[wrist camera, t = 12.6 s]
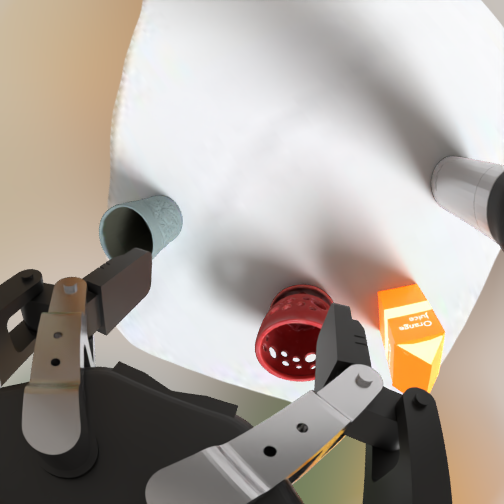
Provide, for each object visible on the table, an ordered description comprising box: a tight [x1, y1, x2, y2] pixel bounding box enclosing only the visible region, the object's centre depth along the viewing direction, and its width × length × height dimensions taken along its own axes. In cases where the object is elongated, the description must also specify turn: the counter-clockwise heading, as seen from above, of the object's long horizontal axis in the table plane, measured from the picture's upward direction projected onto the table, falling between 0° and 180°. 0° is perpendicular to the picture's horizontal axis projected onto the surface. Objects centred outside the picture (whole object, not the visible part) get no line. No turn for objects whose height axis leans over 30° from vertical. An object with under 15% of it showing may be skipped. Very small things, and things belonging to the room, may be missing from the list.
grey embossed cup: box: [99, 196, 183, 260], centre depth 44 cm, size 10×10×12 cm
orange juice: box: [378, 284, 445, 393], centre depth 38 cm, size 8×9×20 cm
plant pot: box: [255, 285, 334, 381], centre depth 45 cm, size 13×13×12 cm
